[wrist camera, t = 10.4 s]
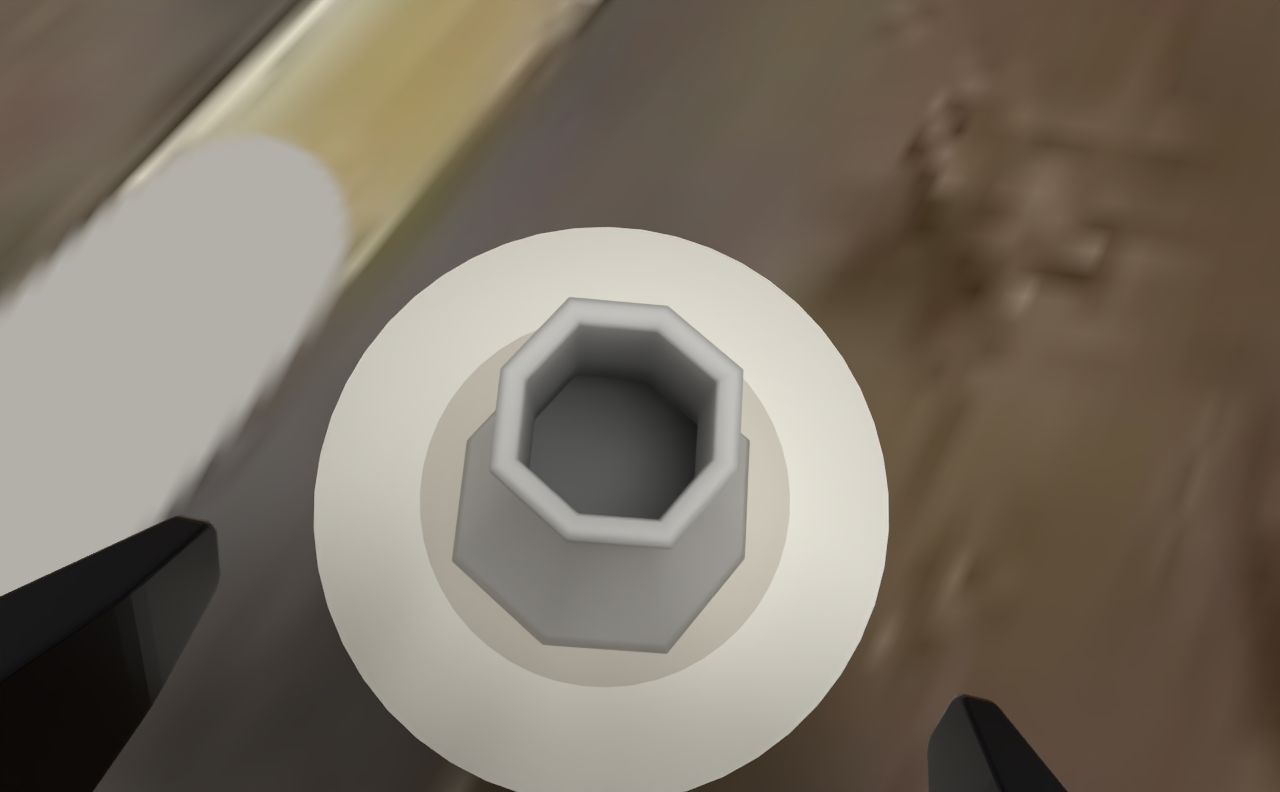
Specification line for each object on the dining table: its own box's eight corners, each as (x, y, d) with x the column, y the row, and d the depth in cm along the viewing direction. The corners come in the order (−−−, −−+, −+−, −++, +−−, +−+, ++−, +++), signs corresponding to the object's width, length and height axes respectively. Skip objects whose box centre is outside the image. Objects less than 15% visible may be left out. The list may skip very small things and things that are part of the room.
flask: (530, 313, 21) (476, 71, 11) (793, 423, 20) (979, 276, 11) (401, 582, 19) (202, 580, 9) (687, 706, 19) (792, 838, 9)
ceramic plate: (547, 928, 18) (544, 948, 17) (218, 444, 20) (198, 436, 19) (984, 548, 21) (1004, 546, 20) (654, 151, 23) (656, 130, 22)
